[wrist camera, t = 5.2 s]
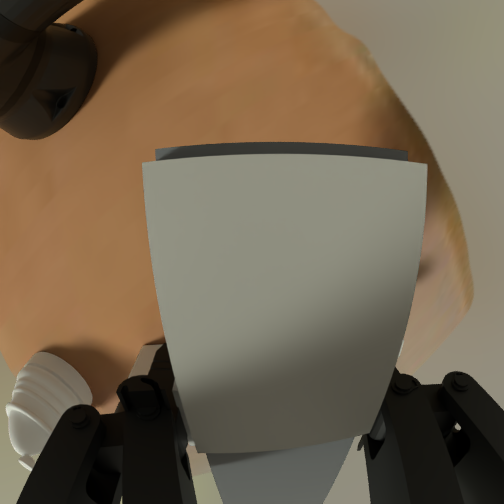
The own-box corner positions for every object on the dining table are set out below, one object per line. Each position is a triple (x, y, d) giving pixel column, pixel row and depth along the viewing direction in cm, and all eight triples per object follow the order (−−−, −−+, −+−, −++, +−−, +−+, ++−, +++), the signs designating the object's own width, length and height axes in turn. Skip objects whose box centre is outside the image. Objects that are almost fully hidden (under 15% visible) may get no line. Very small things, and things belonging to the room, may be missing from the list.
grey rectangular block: (205, 160, 11) (141, 147, 3) (301, 158, 12) (427, 151, 3) (227, 405, 15) (228, 528, 7) (292, 401, 16) (321, 518, 8)
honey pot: (97, 379, 34) (51, 469, 17) (89, 419, 37) (57, 494, 20) (31, 337, 32) (-31, 407, 14) (31, 384, 35) (-12, 447, 17)
